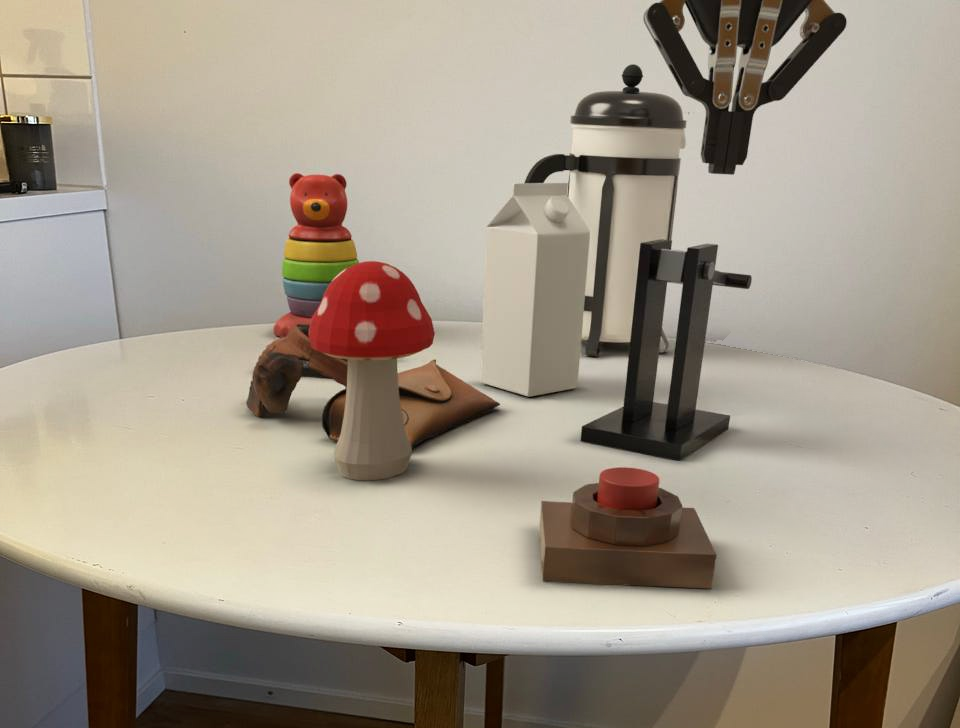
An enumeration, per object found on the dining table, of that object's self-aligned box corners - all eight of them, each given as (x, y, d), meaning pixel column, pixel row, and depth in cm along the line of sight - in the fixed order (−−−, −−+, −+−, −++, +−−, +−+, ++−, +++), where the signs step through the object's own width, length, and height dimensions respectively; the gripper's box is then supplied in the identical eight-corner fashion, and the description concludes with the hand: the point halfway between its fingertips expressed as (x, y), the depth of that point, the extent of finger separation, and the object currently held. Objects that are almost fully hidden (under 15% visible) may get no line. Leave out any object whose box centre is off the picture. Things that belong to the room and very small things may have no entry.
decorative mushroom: (381, 497, 72) (380, 275, 65) (287, 474, 76) (276, 261, 69) (455, 463, 80) (461, 261, 73) (366, 443, 84) (363, 250, 77)
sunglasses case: (410, 449, 81) (372, 371, 79) (346, 480, 85) (310, 405, 83) (505, 403, 95) (475, 336, 94) (447, 431, 99) (417, 367, 98)
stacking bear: (270, 337, 121) (261, 173, 113) (287, 322, 130) (280, 169, 122) (360, 341, 121) (358, 177, 112) (371, 326, 130) (370, 173, 121)
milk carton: (479, 384, 104) (487, 180, 95) (528, 375, 108) (540, 180, 99) (528, 398, 99) (541, 186, 90) (577, 389, 104) (594, 185, 95)
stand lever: (694, 290, 95) (699, 262, 94) (748, 296, 93) (754, 268, 92) (638, 277, 83) (643, 246, 83) (698, 284, 81) (704, 253, 80)
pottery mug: (263, 398, 97) (305, 322, 95) (343, 453, 96) (387, 377, 94) (203, 393, 86) (248, 306, 83) (293, 456, 85) (341, 370, 83)
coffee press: (564, 329, 133) (584, 66, 119) (683, 343, 127) (718, 69, 113) (510, 351, 119) (524, 57, 105) (640, 368, 113) (674, 59, 99)
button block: (690, 539, 67) (698, 481, 65) (711, 589, 60) (721, 525, 58) (539, 532, 67) (543, 474, 65) (542, 581, 60) (547, 517, 58)
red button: (652, 495, 64) (655, 468, 63) (660, 515, 60) (663, 487, 60) (594, 492, 64) (597, 465, 63) (599, 512, 60) (602, 484, 60)
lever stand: (636, 412, 96) (656, 233, 89) (728, 429, 92) (756, 243, 85) (580, 441, 87) (597, 243, 80) (679, 460, 83) (706, 255, 76)
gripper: (662, -171, 57) (627, 170, 65) (900, -159, 57) (835, 182, 64) (648, -140, 63) (617, 166, 71) (860, -129, 63) (806, 176, 71)
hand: (721, 173), depth 68 cm, fingers closed
